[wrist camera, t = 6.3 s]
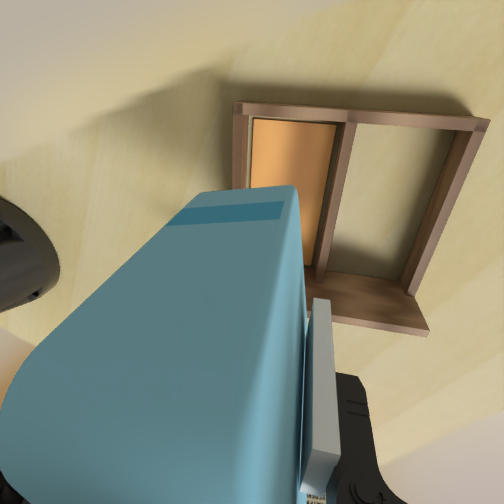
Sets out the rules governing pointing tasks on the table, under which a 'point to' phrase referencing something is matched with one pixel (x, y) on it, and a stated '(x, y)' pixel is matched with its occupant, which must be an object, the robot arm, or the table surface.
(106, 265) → the table surface
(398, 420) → the table surface
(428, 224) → the rack
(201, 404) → the blue rounded block
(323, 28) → the table surface
